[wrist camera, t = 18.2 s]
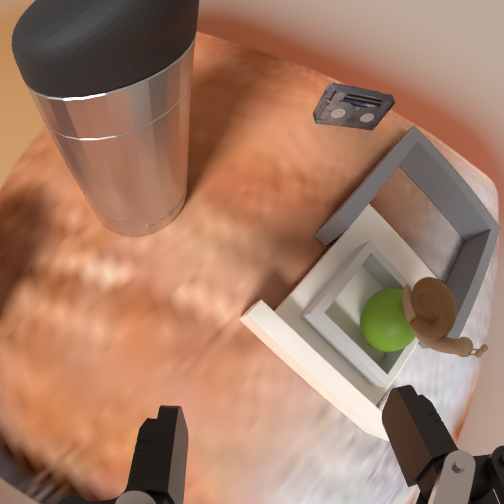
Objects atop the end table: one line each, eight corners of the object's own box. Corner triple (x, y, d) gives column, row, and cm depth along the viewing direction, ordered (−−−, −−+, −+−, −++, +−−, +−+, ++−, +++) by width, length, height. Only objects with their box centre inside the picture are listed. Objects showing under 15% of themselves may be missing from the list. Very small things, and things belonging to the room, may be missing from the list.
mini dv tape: (369, 121, 37) (391, 92, 31) (372, 130, 36) (395, 102, 30) (312, 114, 35) (330, 80, 29) (315, 123, 34) (334, 89, 29)
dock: (313, 235, 30) (335, 215, 25) (392, 146, 36) (413, 124, 31) (422, 348, 29) (454, 345, 24) (474, 239, 35) (499, 227, 30)
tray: (238, 319, 26) (247, 314, 22) (352, 195, 32) (371, 177, 28) (366, 432, 25) (389, 441, 21) (448, 301, 31) (472, 294, 27)
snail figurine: (364, 372, 25) (462, 376, 14) (340, 307, 27) (431, 277, 16) (406, 346, 27) (503, 335, 16) (385, 285, 28) (477, 249, 17)
